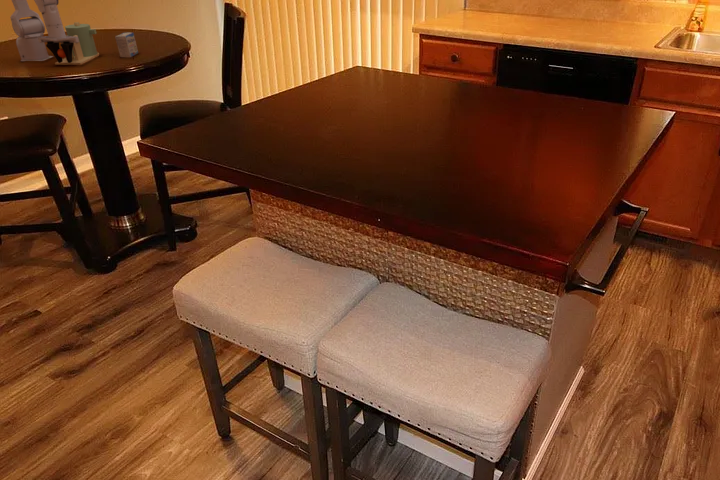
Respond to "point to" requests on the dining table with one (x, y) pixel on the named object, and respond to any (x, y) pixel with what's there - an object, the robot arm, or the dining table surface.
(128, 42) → the medicine box
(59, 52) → the switch
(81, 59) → the switch bracket
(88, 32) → the kettle
